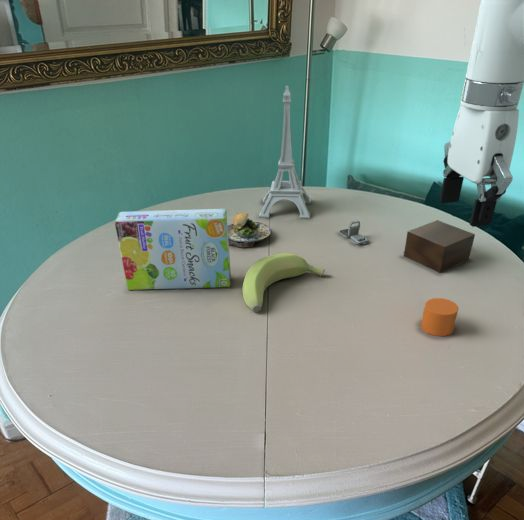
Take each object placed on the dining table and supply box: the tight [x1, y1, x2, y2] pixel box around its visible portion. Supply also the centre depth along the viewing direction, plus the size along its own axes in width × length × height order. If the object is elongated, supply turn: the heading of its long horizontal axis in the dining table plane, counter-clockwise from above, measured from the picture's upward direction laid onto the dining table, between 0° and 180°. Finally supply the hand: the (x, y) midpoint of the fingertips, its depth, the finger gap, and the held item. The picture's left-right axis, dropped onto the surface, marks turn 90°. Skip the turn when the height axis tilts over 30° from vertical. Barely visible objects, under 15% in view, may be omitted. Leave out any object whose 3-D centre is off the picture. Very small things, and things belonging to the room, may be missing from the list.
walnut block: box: [403, 219, 476, 273], centre depth 114 cm, size 10×10×6 cm
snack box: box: [114, 208, 232, 291], centre depth 104 cm, size 21×6×15 cm, turn 91°
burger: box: [227, 212, 272, 249], centre depth 124 cm, size 12×12×8 cm
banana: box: [242, 252, 326, 313], centre depth 105 cm, size 14×6×20 cm
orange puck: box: [420, 297, 459, 337], centre depth 92 cm, size 6×6×4 cm
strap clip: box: [339, 220, 369, 246], centre depth 123 cm, size 8×3×4 cm, turn 26°
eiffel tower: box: [258, 85, 312, 220], centre depth 132 cm, size 13×13×30 cm
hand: (463, 213), depth 82 cm, fingers open, 9 cm apart
